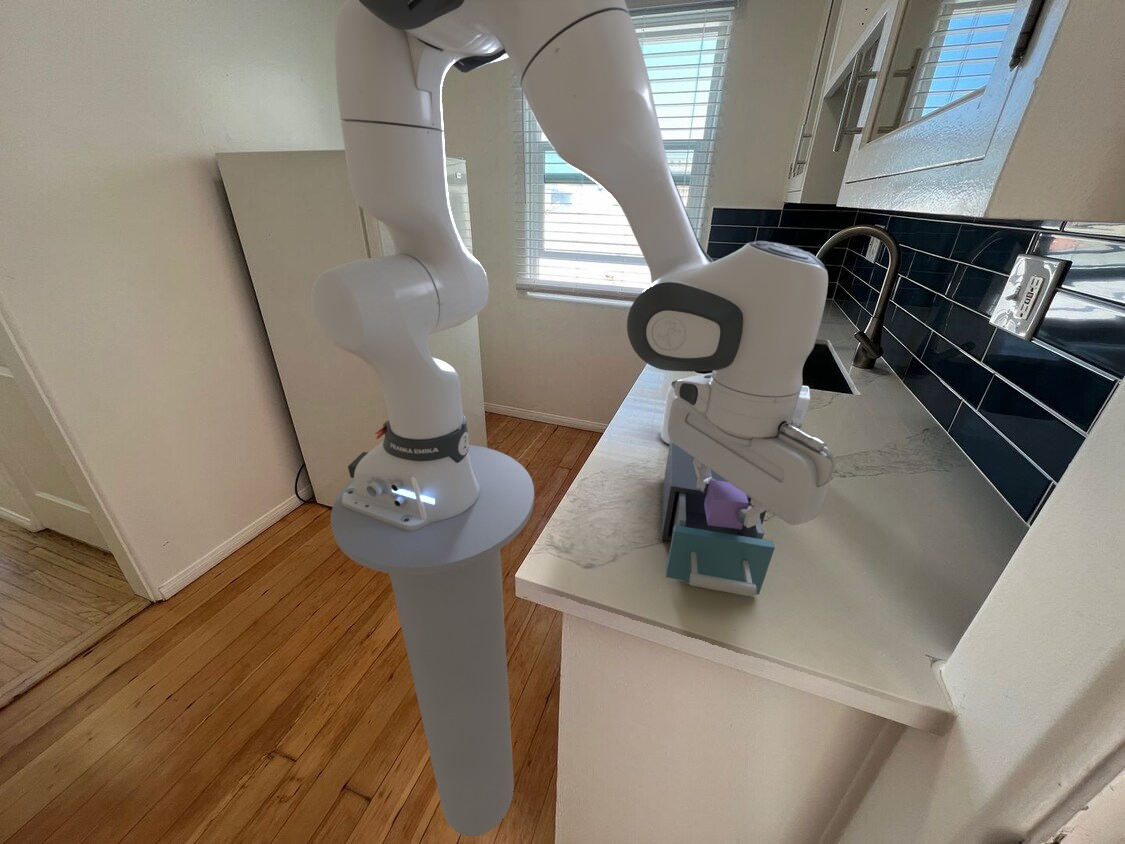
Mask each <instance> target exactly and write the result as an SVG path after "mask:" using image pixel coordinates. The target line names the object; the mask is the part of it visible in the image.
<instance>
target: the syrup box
mask: <svg viewBox="0 0 1125 844" xmlns="http://www.w3.org/2000/svg"><path fill="white" fill-rule="evenodd" d="M810 392H811V391H810V387H809V386H808V385H804V384H802V388H801V391H800V395H799V398H798V401H797V405H796V408H795V411H794V415H793V418H792V421H791V425H793V426H795V427H797V428H798V429H800V430H802V427H803V423H804V421H805V418H806V414H807V411H808V408H809V406H810V403H811V394H810Z"/></svg>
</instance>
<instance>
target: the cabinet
mask: <svg viewBox="0 0 1125 844" xmlns="http://www.w3.org/2000/svg"><path fill="white" fill-rule="evenodd" d="M693 461H694V457H693V456H691V455H690V454H689V453H687V452H686V451H684V450H683V449H681V448H680V447H679V446H677V445H676V444H674V443H673V442H672V441H671V440H670V445H669V447H668V453H667V460H666V465H665V472H664V477H663V489H662V491H663V492H662V496H663V497H662V516H661V517H662V518H661V519H662V521H661V540H663V541H666V542H668V541H669V542H671V541H672V511H673V505H674V500H675V494H676V492H682V493H689V494H696V495H702V496H706V494H704V493H702V492H701V491H700V490H698V489H697V488H696V485H697V479H698V478H697V475H696V472H695V468H694V464H693ZM711 474H712V478H714V479H715V480H716V481H724V482H728V481H727V480H725V479H724V478H723V477H721V476H720V475H718V474H717V473H715V472H714V471H713V470H711ZM746 496H747V499H748V502H749V503H750V502H751V497H749V496H748V495H747V494H746ZM766 513H767V510H765V511H764V512H762V513H760V520H761V524H762V525H763V523H764V520H765V516H766Z"/></svg>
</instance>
